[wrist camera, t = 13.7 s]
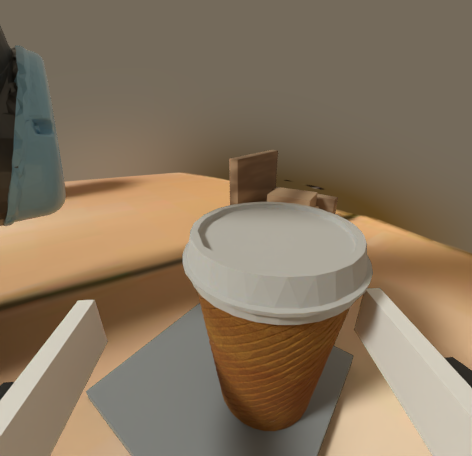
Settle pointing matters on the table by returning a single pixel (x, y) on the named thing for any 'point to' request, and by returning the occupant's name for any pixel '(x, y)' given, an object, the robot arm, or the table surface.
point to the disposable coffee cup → (274, 301)
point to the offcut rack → (262, 180)
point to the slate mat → (201, 401)
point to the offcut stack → (293, 197)
